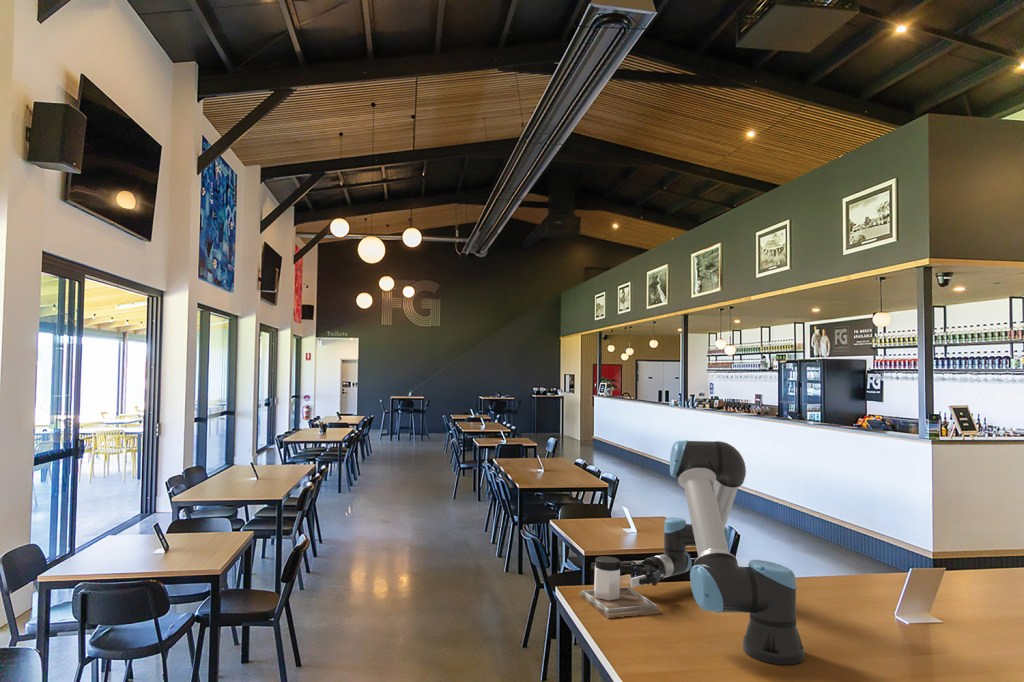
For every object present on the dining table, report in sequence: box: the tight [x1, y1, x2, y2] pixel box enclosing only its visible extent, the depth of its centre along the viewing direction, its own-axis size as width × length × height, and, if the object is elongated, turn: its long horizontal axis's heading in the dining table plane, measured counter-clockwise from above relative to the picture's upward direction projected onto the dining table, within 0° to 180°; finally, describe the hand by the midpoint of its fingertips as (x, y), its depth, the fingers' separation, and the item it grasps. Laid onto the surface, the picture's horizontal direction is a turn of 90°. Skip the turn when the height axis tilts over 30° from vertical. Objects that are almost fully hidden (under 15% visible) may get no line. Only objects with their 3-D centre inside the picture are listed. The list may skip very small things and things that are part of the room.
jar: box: [593, 556, 621, 601], centre depth 206 cm, size 9×8×12 cm
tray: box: [578, 586, 661, 619], centre depth 202 cm, size 22×18×2 cm
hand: (615, 577), depth 202 cm, fingers open, 13 cm apart
